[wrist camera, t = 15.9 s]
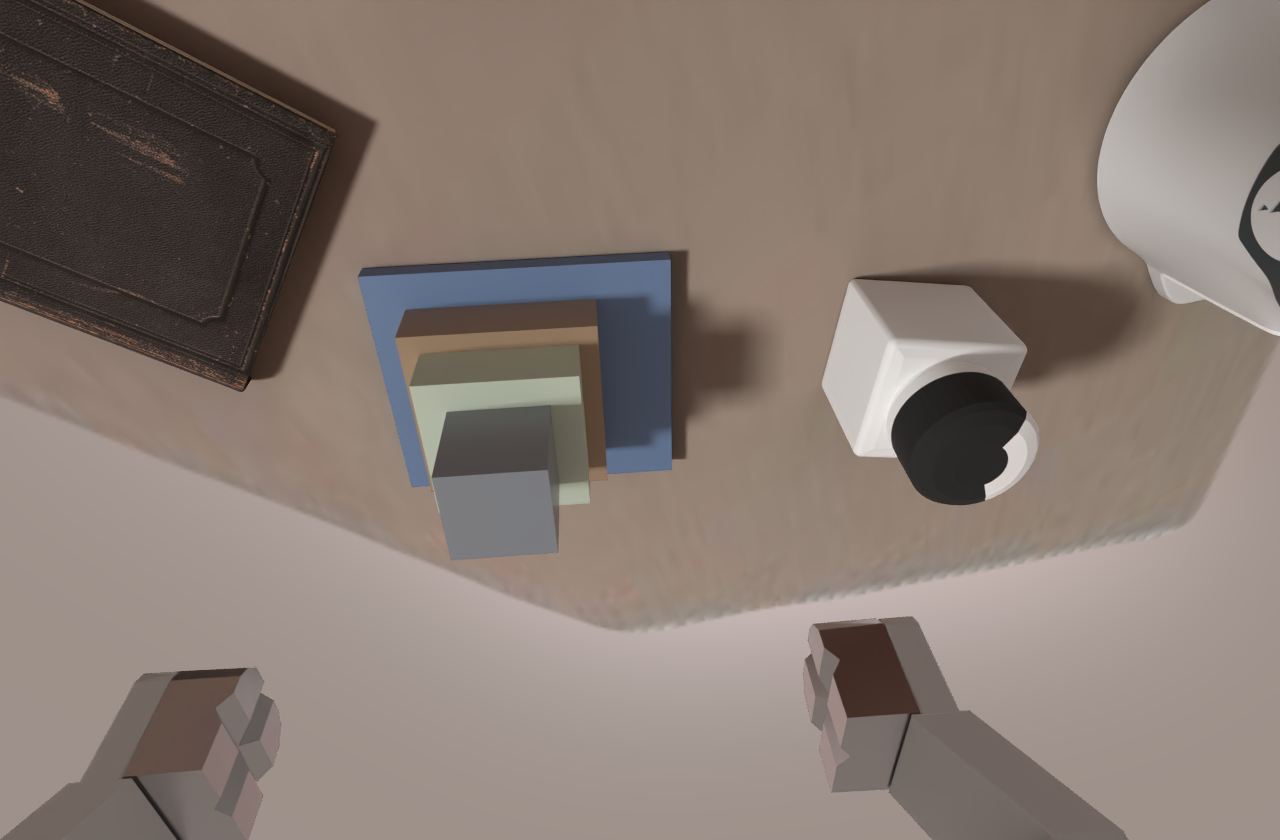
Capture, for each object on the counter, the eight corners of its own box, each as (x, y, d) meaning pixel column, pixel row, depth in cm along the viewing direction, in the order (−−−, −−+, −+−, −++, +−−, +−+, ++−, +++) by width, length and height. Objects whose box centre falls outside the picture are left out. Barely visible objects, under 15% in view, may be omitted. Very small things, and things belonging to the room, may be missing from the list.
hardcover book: (-265, -195, 29) (-323, -200, 27) (347, 122, 37) (335, 136, 35) (-254, 179, 36) (-298, 196, 35) (253, 376, 44) (239, 398, 42)
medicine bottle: (818, 385, 47) (884, 522, 37) (848, 276, 43) (930, 397, 33) (931, 390, 48) (1024, 525, 38) (971, 283, 44) (1086, 403, 34)
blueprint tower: (668, 251, 41) (684, 313, 35) (669, 459, 49) (682, 537, 44) (361, 268, 40) (327, 334, 35) (414, 476, 49) (393, 557, 43)
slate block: (550, 405, 38) (547, 470, 34) (559, 484, 41) (558, 552, 37) (446, 411, 38) (431, 477, 34) (463, 490, 41) (451, 560, 36)
